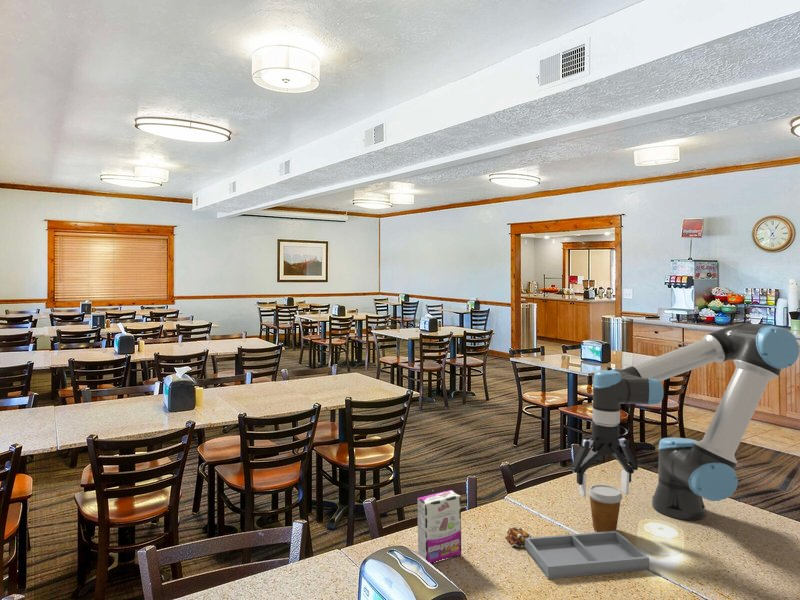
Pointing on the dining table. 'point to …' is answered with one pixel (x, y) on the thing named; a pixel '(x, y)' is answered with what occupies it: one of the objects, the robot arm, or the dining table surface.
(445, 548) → the candy bar box
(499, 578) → the dining table surface
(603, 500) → the disposable coffee cup
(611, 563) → the gray divided tray
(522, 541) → the brown lumpy cluster
